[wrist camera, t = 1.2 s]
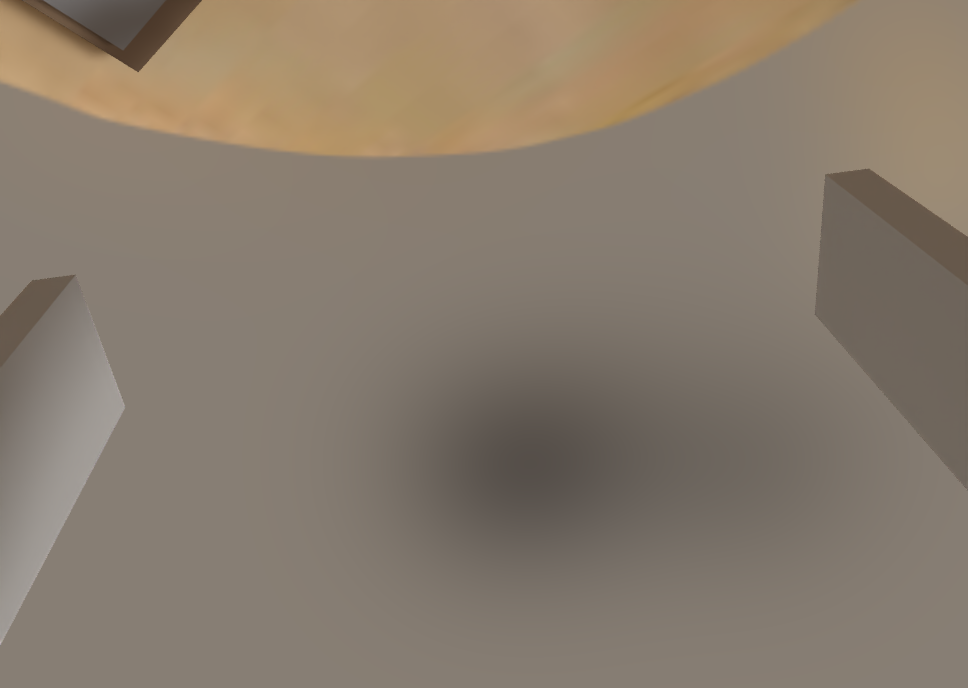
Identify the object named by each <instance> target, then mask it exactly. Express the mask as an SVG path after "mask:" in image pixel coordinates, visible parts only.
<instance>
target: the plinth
mask: <svg viewBox="0 0 968 688" xmlns="http://www.w3.org/2000/svg"><path fill="white" fill-rule="evenodd" d="M22 1H24V2H26V3H27V4H29V5H30V6H32V7H34V8H35V9H37V10H39V11H40V12H42V13H43V14H45V15H47V16H48V17H50V18H51V19H53V20H55V21H56V22H58V23H60V24H61V25H63V26H64V27H66V28H68V29H69V30H71V31H73V32H74V33H76V34H77V35H79V36H81V37H82V38H84V39H85V40H87V41H89V42H90V43H92V44H94V45H95V46H97V47H98V48H100V49H102V50H103V51H105V52H107V53H108V54H110V55H111V56H113V57H115V58H116V59H118V60H119V61H121V62H123V63H124V64H126V65H128V66H129V67H131V68H132V69H134V70H136V71H137V72H139V71H140V70H141V69H142V68H143V66H144V65H145V64H146V63H147V62H148V61H149V60H150V59H151V57H152V56H153V55H154V54H155V53H156V52H157V51H158V49H159V48H160V47H161V46H162V45H163V44H164V43H165V42H166V40H167V39H168V38H169V37H170V36H171V35H172V34H173V32H174V31H175V30H176V29H177V28H178V27H179V26H180V25H181V23H182V22H183V21H184V20H185V19H186V18H187V17H188V15H189V14H190V13H191V12H192V11H193V10H194V9H195V8H196V6H197V5H198V4H199V3H200V2H201V1H202V0H22Z"/></svg>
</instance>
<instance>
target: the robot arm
mask: <svg viewBox="0 0 968 688" xmlns="http://www.w3.org/2000/svg"><path fill="white" fill-rule="evenodd" d="M815 307H816V308H815V315H816V316H817V317H818V319H819V320H820V321H821V322H822V323H823V324H824V325H825V327H826V328H827V329H828V330H829V331H830V332H831V334H832V335H833V336H834V337H835V338H836V339H837V340H838V342H839V343H840V344H841V345H842V346H843V347H844V349H845V350H846V351H847V352H848V353H849V354H850V355H851V357H852V358H853V359H854V360H855V361H856V362H857V363H858V365H859V366H860V367H861V368H862V369H863V370H864V372H865V373H866V374H867V375H868V376H869V377H870V378H871V380H872V381H873V382H874V383H875V384H876V385H877V386H878V388H879V389H880V390H881V391H882V392H883V393H884V395H885V396H886V397H887V398H888V399H889V400H890V402H891V403H892V404H893V405H894V406H895V407H896V408H897V410H898V411H899V412H900V413H901V414H902V415H903V416H904V418H905V419H906V420H907V421H908V422H909V423H910V424H911V426H912V427H913V428H914V429H915V430H916V431H917V433H918V434H919V435H920V436H921V437H922V438H923V439H924V441H925V442H926V443H927V444H928V445H929V446H930V448H931V449H932V450H933V451H934V452H935V453H936V454H937V455H938V457H939V458H940V459H941V460H942V461H943V462H944V464H945V465H946V466H947V467H948V468H949V469H950V471H951V472H952V473H953V474H954V475H955V476H956V477H957V479H958V480H959V481H960V482H961V483H962V484H963V485H964V487H965V488H966V489H967V490H968V237H967V236H966V235H964V234H963V233H961V232H960V231H958V230H957V229H955V228H954V227H953V226H951V225H950V224H948V223H947V222H945V221H944V220H942V219H941V218H939V217H938V216H937V215H935V214H934V213H932V212H931V211H929V210H928V209H927V208H925V207H924V206H922V205H921V204H919V203H918V202H916V201H915V200H914V199H912V198H911V197H909V196H908V195H906V194H905V193H903V192H902V191H901V190H899V189H898V188H896V187H895V186H893V185H892V184H890V183H889V182H887V181H886V180H885V179H883V178H882V177H880V176H879V175H877V174H876V173H875V172H873V171H871V170H870V169H863V170H855V171H848V172H840V173H833V174H826V175H825V187H824V200H823V213H822V226H821V240H820V253H819V267H818V281H817V293H816V306H815ZM124 408H125V405H124V403H123V400H122V397H121V395H120V392H119V389H118V386H117V384H116V381H115V378H114V376H113V373H112V370H111V368H110V365H109V362H108V360H107V357H106V354H105V352H104V349H103V346H102V344H101V341H100V339H99V336H98V333H97V330H96V328H95V325H94V322H93V320H92V317H91V314H90V312H89V309H88V306H87V303H86V301H85V298H84V296H83V293H82V290H81V287H80V285H79V282H78V280H77V277H76V275H70V276H63V277H55V278H47V279H40V280H32V281H31V282H30V283H29V284H28V285H27V287H26V288H25V289H24V290H23V291H22V292H21V293H20V294H19V295H18V297H17V298H16V299H15V300H14V301H13V302H12V303H11V304H10V306H9V307H8V308H7V309H6V310H5V311H4V312H3V313H2V314H1V315H0V645H1V643H2V641H3V639H4V637H5V635H6V633H7V631H8V629H9V627H10V625H11V624H12V622H13V620H14V618H15V616H16V614H17V612H18V610H19V609H20V607H21V605H22V603H23V601H24V599H25V597H26V595H27V593H28V591H29V589H30V587H31V586H32V584H33V582H34V580H35V578H36V576H37V574H38V572H39V570H40V568H41V566H42V565H43V563H44V561H45V559H46V557H47V555H48V553H49V551H50V549H51V548H52V546H53V544H54V542H55V540H56V538H57V536H58V534H59V532H60V530H61V528H62V527H63V524H64V523H65V521H66V519H67V517H68V515H69V513H70V511H71V509H72V507H73V506H74V504H75V502H76V500H77V498H78V496H79V494H80V492H81V490H82V488H83V486H84V485H85V483H86V481H87V479H88V477H89V475H90V473H91V471H92V469H93V467H94V466H95V464H96V462H97V460H98V458H99V456H100V454H101V452H102V450H103V448H104V446H105V445H106V443H107V441H108V439H109V437H110V435H111V433H112V431H113V429H114V427H115V426H116V423H117V421H118V420H119V418H120V416H121V414H122V412H123V410H124Z"/></svg>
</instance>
